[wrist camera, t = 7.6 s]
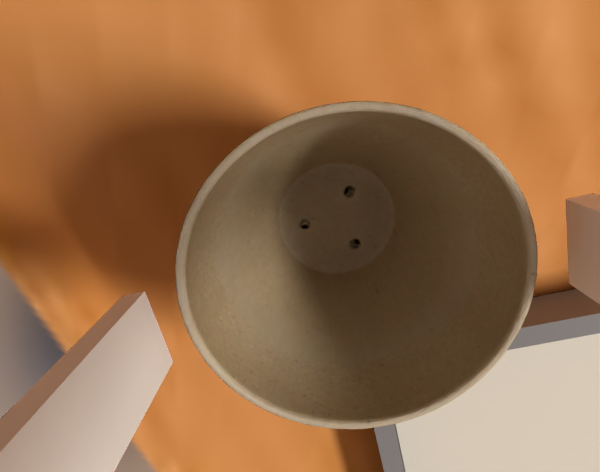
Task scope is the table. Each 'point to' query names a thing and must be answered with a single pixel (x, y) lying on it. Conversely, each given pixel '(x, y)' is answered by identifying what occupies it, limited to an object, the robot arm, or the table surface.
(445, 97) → the table surface
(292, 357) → the flower pot
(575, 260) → the robot arm
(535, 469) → the tray
